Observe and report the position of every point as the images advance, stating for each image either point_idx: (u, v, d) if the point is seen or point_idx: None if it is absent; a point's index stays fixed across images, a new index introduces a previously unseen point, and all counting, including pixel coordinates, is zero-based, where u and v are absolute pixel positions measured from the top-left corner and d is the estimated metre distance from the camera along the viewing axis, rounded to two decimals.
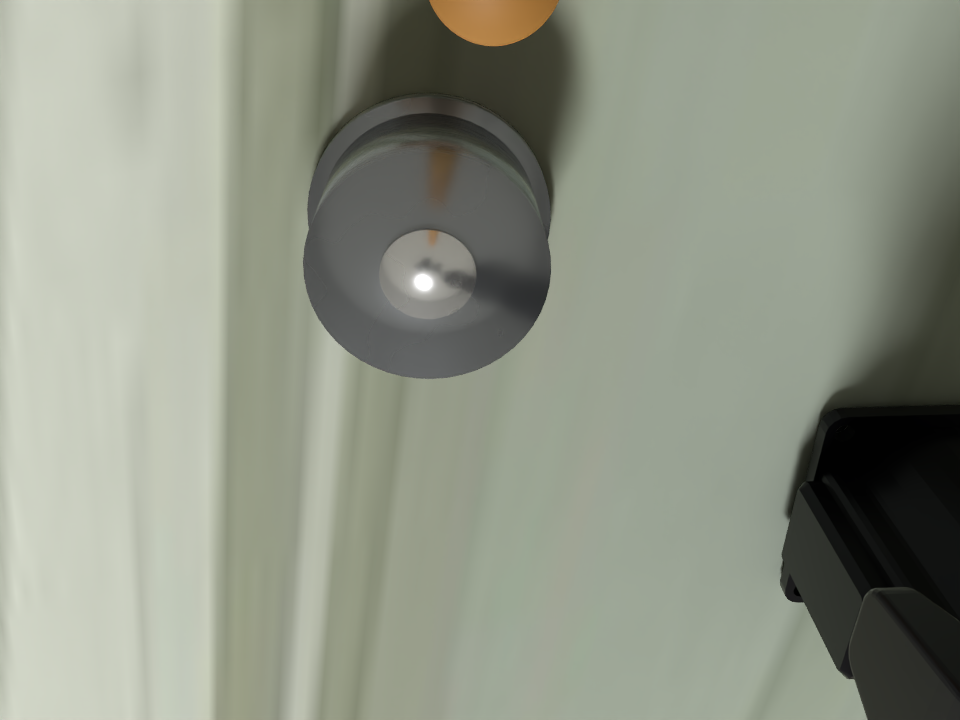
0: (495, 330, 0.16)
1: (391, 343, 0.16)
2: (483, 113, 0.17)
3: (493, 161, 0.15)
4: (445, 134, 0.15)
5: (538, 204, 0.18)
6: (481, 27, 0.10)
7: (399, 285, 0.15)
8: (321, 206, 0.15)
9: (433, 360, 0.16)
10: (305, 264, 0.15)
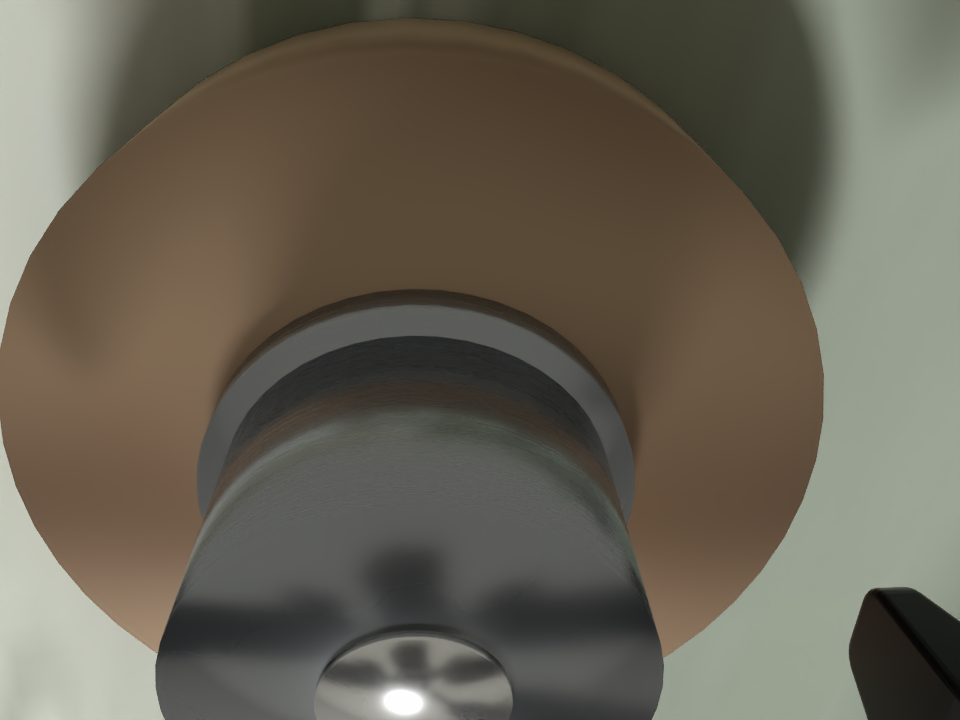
0: None
1: None
2: (518, 334, 0.09)
3: (549, 489, 0.07)
4: (448, 418, 0.07)
5: (613, 473, 0.10)
6: None
7: None
8: (183, 602, 0.07)
9: None
10: (161, 691, 0.07)
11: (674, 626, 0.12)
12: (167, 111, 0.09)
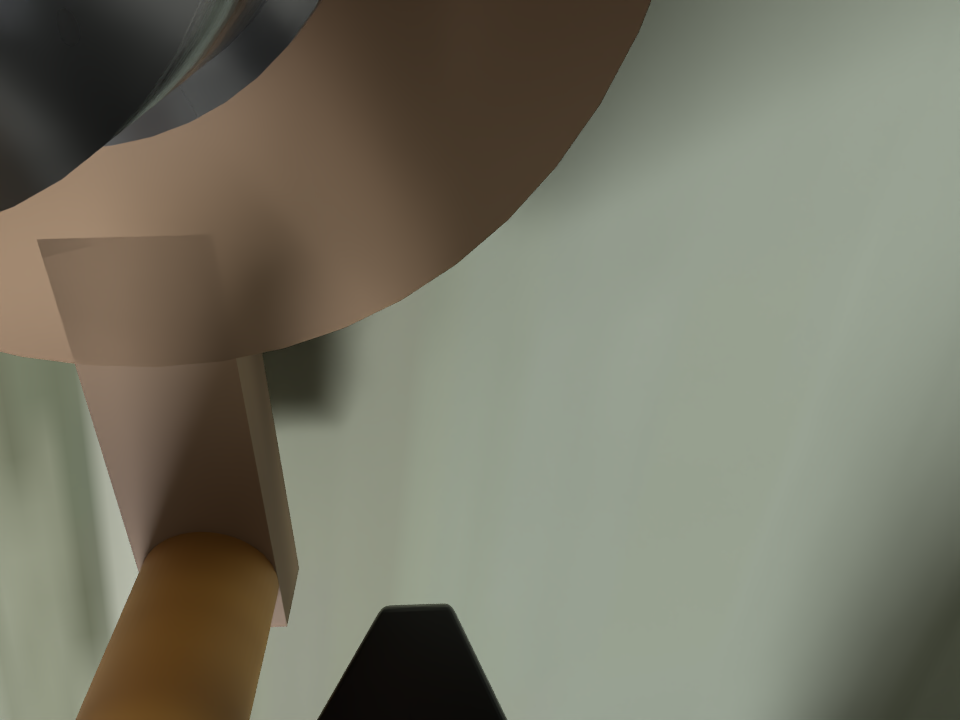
0: (40, 12, 0.04)
1: None
2: None
3: None
4: None
5: None
6: None
7: None
8: None
9: None
10: None
11: (506, 158, 0.07)
12: None
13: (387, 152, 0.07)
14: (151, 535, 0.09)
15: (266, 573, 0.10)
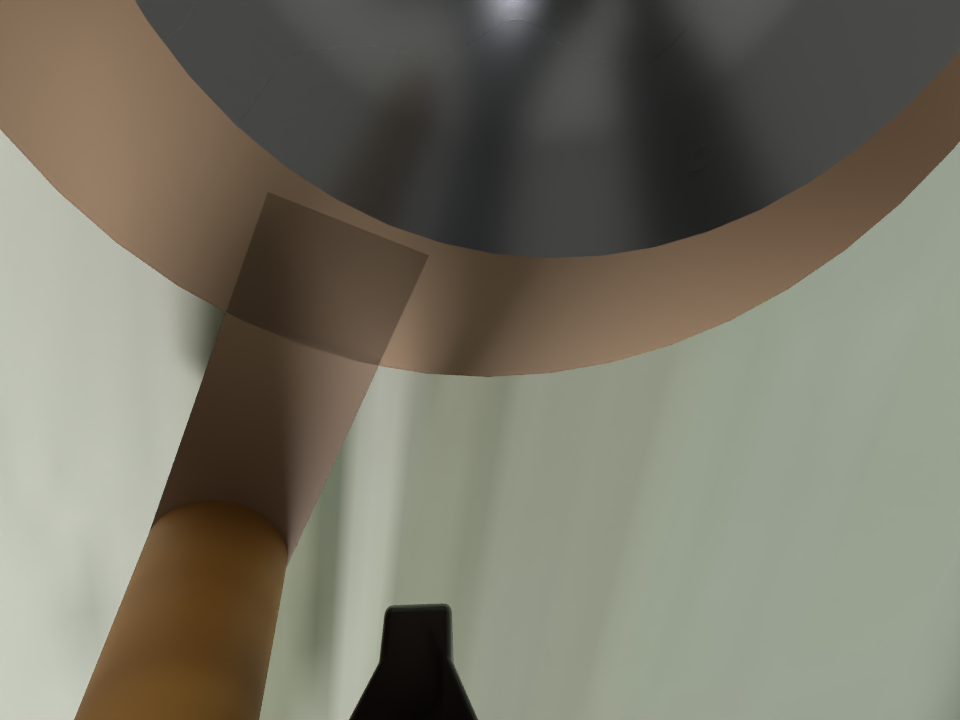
0: (691, 140, 0.04)
1: (301, 7, 0.04)
2: None
3: None
4: None
5: None
6: None
7: None
8: None
9: (425, 155, 0.04)
10: None
11: (698, 298, 0.08)
12: None
13: None
14: (189, 492, 0.09)
15: (285, 565, 0.09)
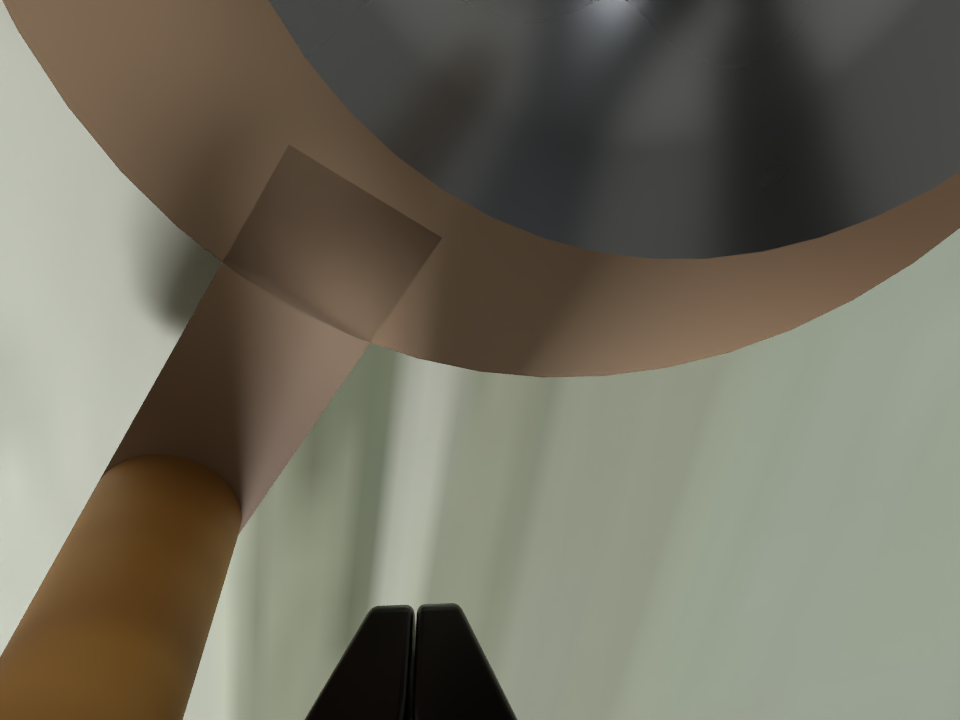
0: (768, 154, 0.04)
1: None
2: None
3: None
4: None
5: None
6: None
7: None
8: None
9: (497, 125, 0.04)
10: None
11: (703, 325, 0.08)
12: None
13: (627, 265, 0.08)
14: (150, 443, 0.09)
15: (237, 533, 0.09)
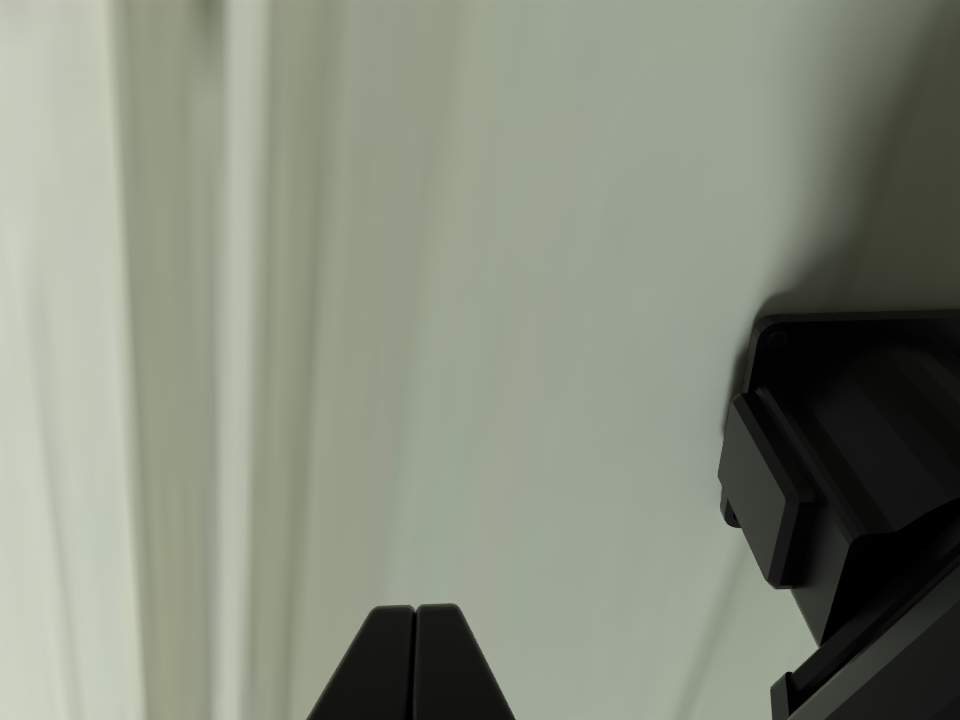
0: None
1: None
2: None
3: None
4: None
5: None
6: None
7: None
8: None
9: None
10: None
11: None
12: None
13: None
14: None
15: None
